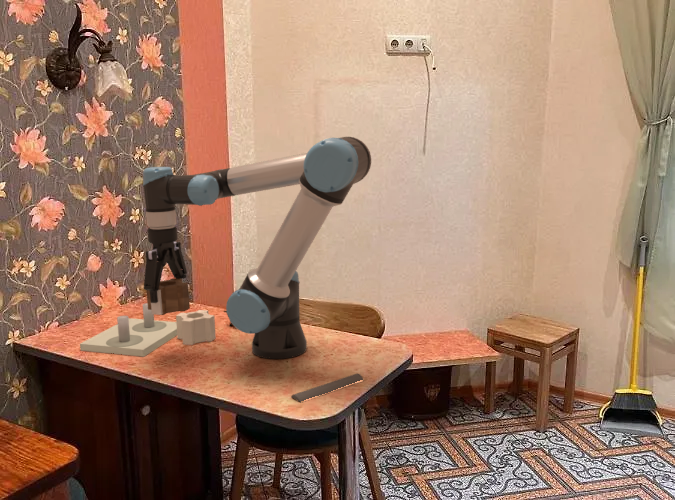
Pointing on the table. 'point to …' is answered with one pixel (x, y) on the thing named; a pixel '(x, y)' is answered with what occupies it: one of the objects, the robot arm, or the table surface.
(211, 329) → the cream gear
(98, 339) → the board
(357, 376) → the gray half cylinder
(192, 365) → the table surface
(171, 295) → the walnut gear
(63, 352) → the table surface
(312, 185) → the robot arm
